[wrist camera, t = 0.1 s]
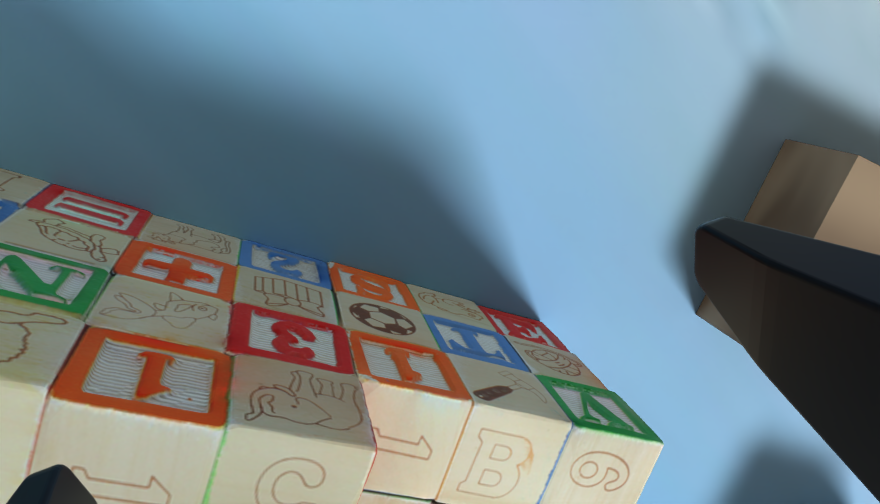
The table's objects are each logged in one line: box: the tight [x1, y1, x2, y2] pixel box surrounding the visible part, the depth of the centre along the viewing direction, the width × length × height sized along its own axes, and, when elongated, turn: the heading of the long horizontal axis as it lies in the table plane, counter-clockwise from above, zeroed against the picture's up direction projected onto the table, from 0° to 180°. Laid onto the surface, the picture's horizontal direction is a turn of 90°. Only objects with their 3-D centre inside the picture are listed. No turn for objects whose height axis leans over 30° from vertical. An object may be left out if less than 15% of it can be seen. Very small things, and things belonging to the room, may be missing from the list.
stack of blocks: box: [0, 168, 664, 504], centre depth 19 cm, size 21×6×12 cm, turn 69°
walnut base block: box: [696, 139, 880, 345], centre depth 29 cm, size 8×8×4 cm
